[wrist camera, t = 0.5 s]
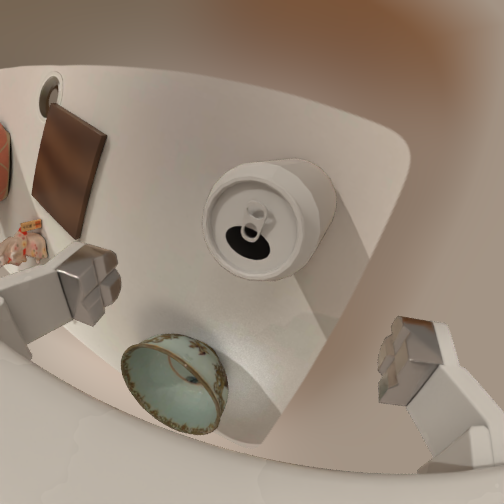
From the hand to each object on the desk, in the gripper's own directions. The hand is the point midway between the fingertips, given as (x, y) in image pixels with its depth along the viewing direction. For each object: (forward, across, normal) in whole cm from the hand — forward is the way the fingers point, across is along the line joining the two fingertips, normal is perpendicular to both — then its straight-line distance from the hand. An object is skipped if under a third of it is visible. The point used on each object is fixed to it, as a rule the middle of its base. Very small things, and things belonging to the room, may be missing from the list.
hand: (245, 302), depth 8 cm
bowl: (+18, +9, +27) cm, 34 cm away
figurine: (+24, +43, +20) cm, 53 cm away
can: (+21, 0, +5) cm, 21 cm away
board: (+25, +34, +7) cm, 42 cm away
